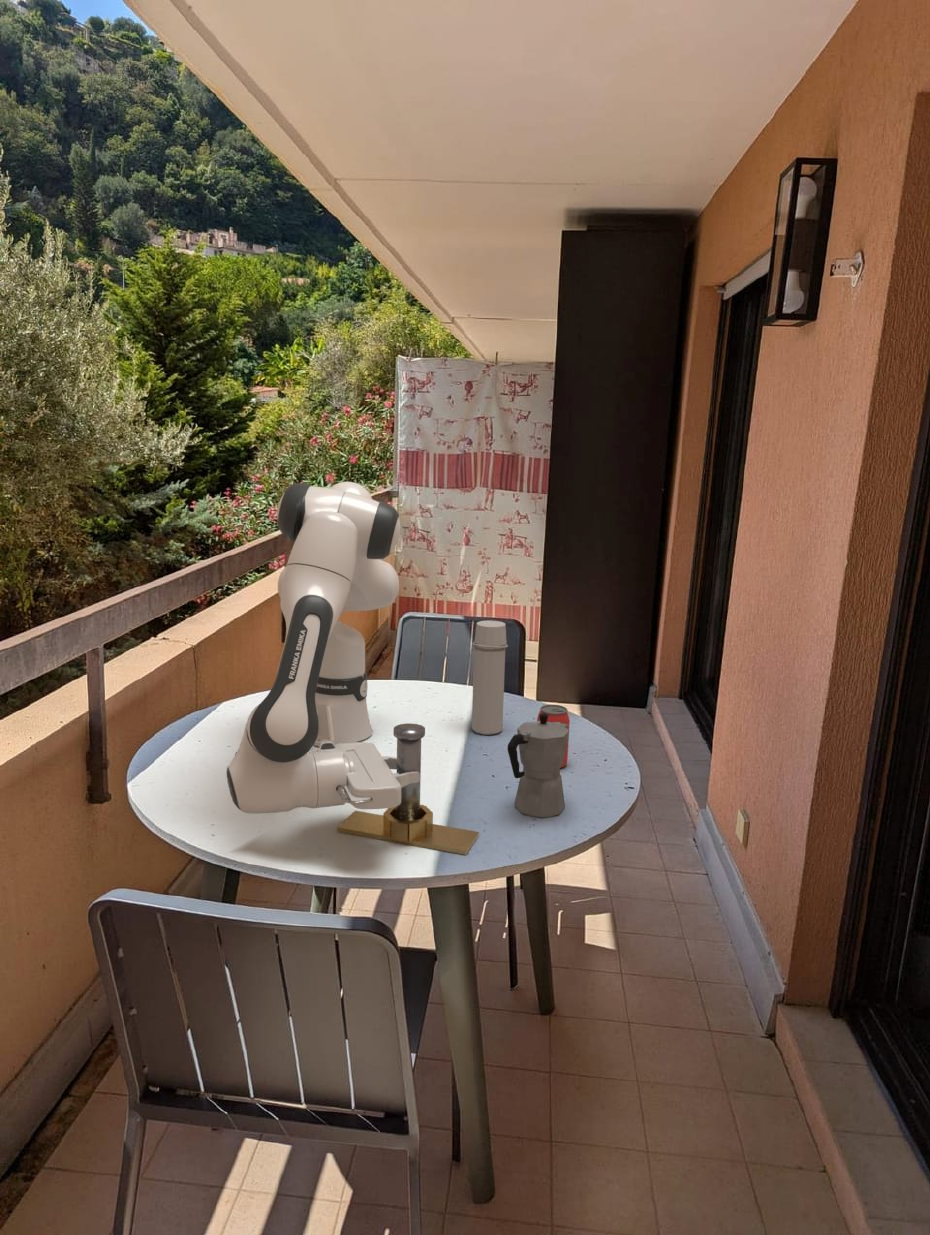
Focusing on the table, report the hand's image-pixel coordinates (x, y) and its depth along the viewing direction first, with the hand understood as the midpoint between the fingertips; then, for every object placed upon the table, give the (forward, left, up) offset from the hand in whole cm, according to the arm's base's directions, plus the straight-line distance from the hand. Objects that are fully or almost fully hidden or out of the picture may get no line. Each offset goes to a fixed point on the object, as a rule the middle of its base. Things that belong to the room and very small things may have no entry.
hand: (414, 769), depth 145 cm
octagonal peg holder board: (-1, -1, -12) cm, 12 cm away
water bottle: (-3, +54, -12) cm, 55 cm away
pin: (-1, -1, -9) cm, 9 cm away
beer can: (+15, +39, -12) cm, 43 cm away
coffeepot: (+17, +17, -12) cm, 27 cm away
